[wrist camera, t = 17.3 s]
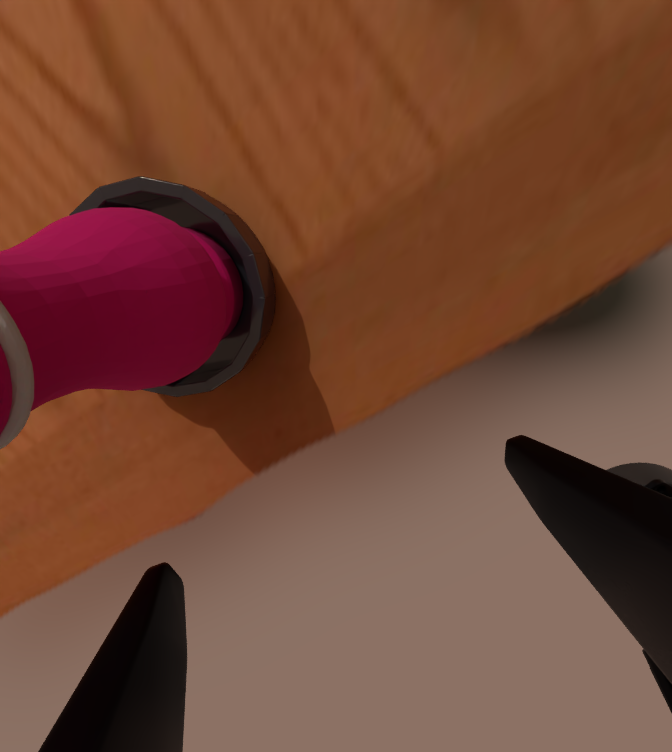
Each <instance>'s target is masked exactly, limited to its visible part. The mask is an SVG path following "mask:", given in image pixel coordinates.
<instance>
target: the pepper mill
mask: <svg viewBox="0 0 672 752" xmlns="http://www.w3.org/2000/svg"><path fill="white" fill-rule="evenodd" d="M242 307H243V287H242V281H241V278H240V275H239V272H238V269H237V267H236V265H235V263H234V262H233V260H232V258H231V257H230V256H229V254H228V253H227V252H226V250H225V249H224V248H223V247H222V246H221V245H219V244H218V243H217V242H216V241H215V240H214V239H213V238H211V237H209V236H207V235H206V234H204V233H202V232H199V231H197V230H195V229H191V228H187V227H181V226H179V225H178V224H177V223H175V222H174V221H171V220H169V219H167V218H165V217H163V216H161V215H158V214H156V213H153V212H150V211H147V210H142V209H136V208H116V207H109V208H95V209H90V210H86V211H83V212H79V213H76V214H73V215H70V216H67V217H64V218H62V219H60V220H57V221H55V222H53V223H51V224H50V225H48V226H47V227H45V228H44V229H42V230H41V231H39V232H37V233H36V234H34V235H33V236H31V237H30V238H28V239H27V240H25V241H24V242H22V243H20V244H18V245H16V246H14V247H12V248H10V249H7V250H4V251H1V252H0V449H1V448H3V447H5V446H7V445H8V444H9V443H10V442H11V441H12V440H13V439H14V438H15V437H16V436H17V435H18V434H19V433H20V431H21V430H22V429H23V427H24V426H25V424H26V422H27V420H28V417H29V415H30V411H32V410H34V409H35V408H37V407H39V406H40V405H42V404H44V403H46V402H48V401H50V400H53V399H56V398H59V397H61V396H64V395H67V394H70V393H72V392H75V391H79V390H84V389H113V390H129V391H134V390H141V389H147V388H154V387H159V386H164V385H167V384H170V383H172V382H175V381H177V380H179V379H181V378H183V377H185V376H187V375H189V374H190V373H192V372H193V371H195V370H197V369H198V368H199V367H200V366H202V365H203V364H204V363H205V362H206V361H207V360H208V359H209V357H210V356H211V355H212V353H213V352H214V351H215V350H216V348H217V346H218V344H219V342H220V341H221V340H223V339H224V338H225V337H226V336H228V335H229V333H230V332H231V331H232V330H233V329H234V327H235V326H236V324H237V322H238V320H239V318H240V315H241V311H242Z"/></svg>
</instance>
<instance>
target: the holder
mask: <svg viewBox="0 0 672 752" xmlns="http://www.w3.org/2000/svg"><path fill="white" fill-rule="evenodd" d="M109 207H116V208H136V209H142V210H147V211H150V212H153V213H156V214H158V215H161V216H163V217H165V218H167V219H169V220H171V221H174V222H175V223H177V224H178V225H179V226H181V227H187V228H191V229H195V230H197V231H199V232H202V233H204V234H206V235H207V236H209V237H211V238H213V239H214V240H215V241H216V242H217V243H218V244H219V245H221V246H222V247H223V248H224V249H225V250H226V252H227V253H228V254H229V256H230V257H231V258H232V260H233V262H234V263H235V265H236V267H237V269H238V272H239V275H240V278H241V281H242V287H243V307H242V311H241V315H240V318H239V320H238V322H237V324H236V326H235V327H234V329H233V330H232V331H231V332H230V333H229V335H228V336H226V337H225V338H224V339H223V340H221V341H220V342H219V344H218V346H217V348H216V350H215V351H214V352H213V353H212V355H211V356H210V357H209V359H208V360H207V361H206V362H205V363H204V364H203V365H202V366H200V367H199V368H198V369H197V370H195V371H193V372H192V373H190V374H189V375H187V376H185V377H183V378H181V379H179V380H177V381H175V382H172V383H170V384H167V385H164V386H159V387H154V388H147V389H141V390H145V391H150V392H155V393H160V394H164V395H169V396H174V397H175V396H176V397H179V396H185V395H191V394H197V393H202V392H208V391H211V390H214V389H215V388H217V387H218V386H220V385H221V384H223V383H224V382H226V381H227V380H229V379H230V378H232V377H233V376H235V375H236V374H238V373H239V372H240V371H241V370H242V369H244V368H245V367H246V366H247V365H248V364H249V363H250V362H251V361H252V360H253V358H254V356H255V355H256V353H257V352H258V350H259V349H260V348H261V346H262V345H263V343H264V341H265V339H266V337H267V335H268V333H269V332H270V328H271V325H272V322H273V317H274V312H275V299H276V297H275V284H274V279H273V273H272V270H271V267H270V263H269V260H268V258H267V256H266V253H265V251H264V249H263V247H262V245H261V244H260V242H259V240H258V239H257V237H256V235H255V234H254V233H253V231H252V230H251V229H250V228H249V226H248V225H247V224H246V223H245V222H244V221H243V220H242V219H241V218H240V217H239V216H238V215H237V214H236V213H235V212H234V211H232V210H231V209H230V208H228V207H227V206H226V205H224V204H223V203H221V202H219V201H218V200H216V199H214V198H212V197H211V196H209V195H208V194H206V193H205V192H202V191H200V190H197V189H194V188H191V187H188V186H185V185H182V184H177V183H172V182H167V181H162V180H157V179H152V178H147V177H142V176H141V177H139V176H138V177H134V178H131V179H127V180H123V181H119V182H116V183H112V184H108V185H104V186H101V187H99V188H97V189H96V190H95V191H94V192H93V193H92V194H91V195H90V196H89V197H87V198H86V199H85V200H84V201H83V202H82V203H81V204H80V205H79V206H78V207H77V208H76V209H75V210H74V211H73V212H72V213H71V214H70V215H73V214H76V213H79V212H83V211H86V210H90V209H95V208H109ZM70 215H69V216H70Z"/></svg>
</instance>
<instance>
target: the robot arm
mask: <svg viewBox="0 0 672 752" xmlns="http://www.w3.org/2000/svg"><path fill="white" fill-rule="evenodd" d="M505 464H506V467H507V469H508V471H509V472H510V474H511V475H512V477H513V478H514V480H515V481H516V483H517V485H518V486H519V488H520V489H521V491H522V492H523V494H524V495H525V497H526V498H527V500H528V501H529V503H530V505H531V506H532V508H533V509H534V511H535V512H536V514H537V515H538V517H539V518H540V520H541V521H542V522H543V524H544V525H545V526H546V528H547V529H548V530H549V531H550V533H552V535H553V536H554V538H555V539H556V540H557V541H558V542H559V544H560V545H561V546H562V547H563V549H564V550H565V551H566V553H567V554H568V555H569V556H570V557H571V559H572V560H573V561H574V563H575V564H576V565H577V566H578V568H579V569H580V570H581V571H582V572H583V574H584V575H585V576H586V578H587V579H588V580H589V581H590V582H591V584H592V585H593V586H594V587H595V589H596V590H597V591H598V592H599V594H600V595H601V596H602V597H603V599H604V600H605V601H606V602H607V604H608V605H609V606H610V608H611V609H612V610H613V611H614V612H615V614H616V615H617V616H618V617H619V619H620V620H621V621H622V622H623V624H624V625H625V626H626V627H627V629H628V630H629V631H630V633H631V634H632V635H633V636H634V637H635V639H636V640H637V641H638V642H639V644H640V645H641V646H642V647H643V654H644V656H645V658H646V660H647V662H648V664H649V666H650V669H651V671H652V674H653V675H654V678H655V680H656V682H657V684H658V686H659V688H660V690H661V692H662V694H663V696H664V698H665V700H666V702H667V704H668V706H669V708H670V711H671V713H672V486H670V485H669V484H668V483H666V482H665V481H663V480H661V479H654V480H652V481H650V482H649V483H648V484H647V485H645V486H642V485H639V484H637V483H635V482H632V481H630V480H628V479H625V478H623V477H621V476H618V475H616V474H613V473H611V472H609V471H606V470H604V469H601V468H599V467H597V466H595V465H592V464H590V463H588V462H585V461H583V460H581V459H578V458H576V457H573V456H571V455H569V454H566V453H564V452H562V451H559V450H557V449H555V448H552V447H550V446H548V445H545V444H543V443H541V442H538V441H536V440H533V439H531V438H529V437H526V436H523V435H519V436H516V437H513V438H510V439H508V440H507V442H506V449H505ZM658 487H659V488H658ZM186 673H187V639H186V619H185V600H184V586H183V582H182V579H181V578H180V577H179V575H178V574H177V573H176V572H175V571H174V570H173V568H172V567H171V566H170V565H169V564H168V563H165V562H164V563H161V564H158V565H155V566H152V567H150V568H149V569H148V570H147V571H146V572H145V573H144V575H143V577H142V578H141V580H140V582H139V584H138V585H137V587H136V589H135V590H134V592H133V594H132V595H131V597H130V599H129V600H128V602H127V604H126V605H125V607H124V609H123V610H122V612H121V614H120V615H119V617H118V619H117V621H116V622H115V624H114V626H113V627H112V629H111V630H110V632H109V634H108V636H107V637H106V639H105V641H104V642H103V644H102V646H101V647H100V649H99V651H98V652H97V654H96V656H95V657H94V659H93V661H92V662H91V664H90V666H89V667H88V669H87V671H86V673H85V674H84V676H83V677H82V679H81V681H80V683H79V684H78V686H77V688H76V689H75V691H74V693H73V694H72V696H71V698H70V699H69V701H68V703H67V704H66V706H65V708H64V709H63V711H62V713H61V714H60V716H59V718H58V719H57V721H56V723H55V724H54V726H53V728H52V730H51V731H50V733H49V735H48V736H47V738H46V740H45V742H44V743H43V745H42V746H41V748H40V750H39V751H38V752H182V750H183V731H184V712H185V692H186Z"/></svg>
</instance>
